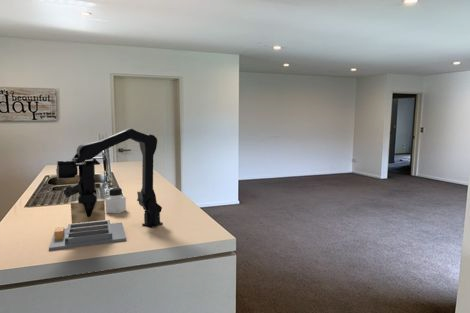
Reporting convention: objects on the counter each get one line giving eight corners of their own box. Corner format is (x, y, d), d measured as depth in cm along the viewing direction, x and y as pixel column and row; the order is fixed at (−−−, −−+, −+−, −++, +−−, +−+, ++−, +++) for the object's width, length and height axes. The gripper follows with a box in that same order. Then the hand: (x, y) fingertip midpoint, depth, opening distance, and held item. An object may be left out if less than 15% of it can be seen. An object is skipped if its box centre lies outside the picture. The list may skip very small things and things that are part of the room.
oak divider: (105, 218, 136) (104, 198, 135) (105, 220, 133) (104, 200, 133) (72, 221, 132) (71, 201, 131) (71, 223, 129) (70, 203, 128)
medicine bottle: (126, 210, 172) (125, 187, 171) (118, 213, 166) (117, 189, 164) (114, 209, 174) (113, 186, 173) (105, 212, 168) (104, 189, 166)
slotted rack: (121, 224, 148) (121, 215, 148) (126, 240, 128) (126, 230, 128) (55, 231, 138) (54, 222, 138) (48, 250, 118) (48, 239, 118)
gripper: (65, 174, 136) (67, 212, 138) (61, 182, 119) (64, 224, 121) (95, 172, 140) (97, 209, 142) (95, 179, 123) (97, 221, 125)
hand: (88, 215), depth 132 cm, fingers closed on oak divider, 3 cm apart
